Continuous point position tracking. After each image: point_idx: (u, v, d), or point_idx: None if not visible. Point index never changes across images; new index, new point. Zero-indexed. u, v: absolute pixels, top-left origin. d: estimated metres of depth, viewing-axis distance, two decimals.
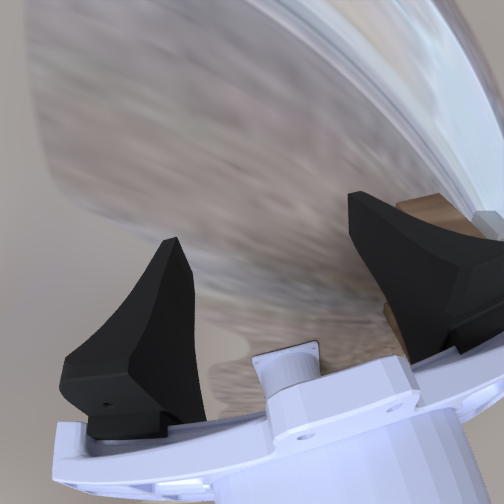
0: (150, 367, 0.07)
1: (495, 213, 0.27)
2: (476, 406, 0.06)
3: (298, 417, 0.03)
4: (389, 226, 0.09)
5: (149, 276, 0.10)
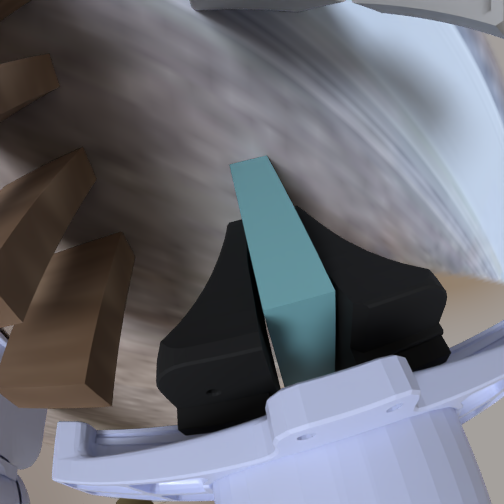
0: (264, 344, 0.07)
1: None
2: (476, 406, 0.06)
3: (298, 417, 0.03)
4: None
5: (230, 255, 0.10)
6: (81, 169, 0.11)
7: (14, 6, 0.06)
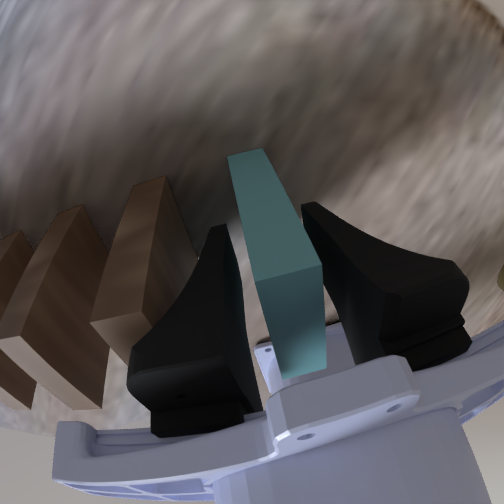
0: (232, 351, 0.07)
1: None
2: (476, 406, 0.06)
3: (298, 417, 0.03)
4: (332, 241, 0.09)
5: (208, 261, 0.10)
6: (61, 220, 0.13)
7: None
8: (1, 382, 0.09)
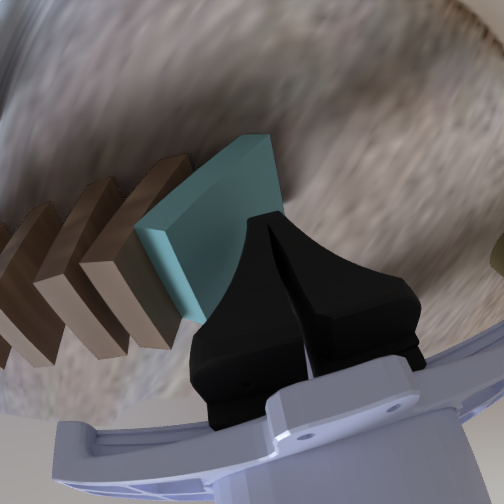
0: None
1: None
2: (476, 406, 0.06)
3: (298, 417, 0.03)
4: (285, 253, 0.09)
5: (254, 249, 0.10)
6: (92, 189, 0.15)
7: (5, 236, 0.16)
8: (29, 335, 0.11)
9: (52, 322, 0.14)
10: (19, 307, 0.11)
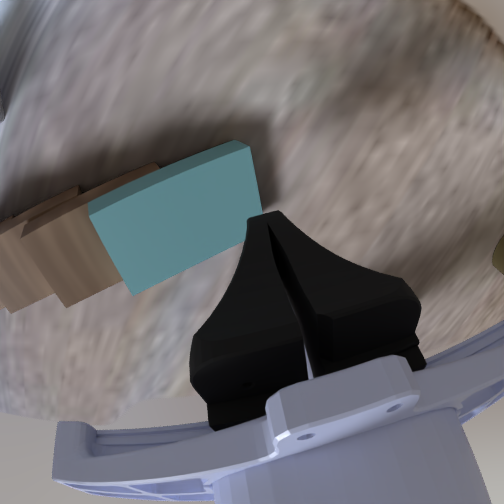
0: None
1: None
2: (476, 406, 0.06)
3: (298, 417, 0.03)
4: (285, 254, 0.09)
5: (254, 249, 0.10)
6: (62, 196, 0.15)
7: None
8: None
9: None
10: None
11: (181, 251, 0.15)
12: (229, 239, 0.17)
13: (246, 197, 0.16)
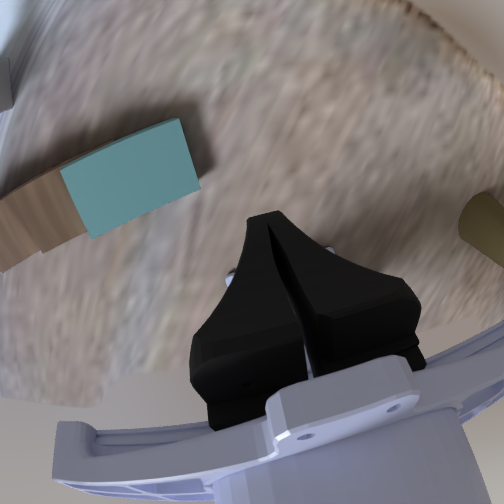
0: None
1: None
2: (476, 406, 0.06)
3: (298, 417, 0.03)
4: (285, 253, 0.09)
5: (254, 249, 0.10)
6: None
7: None
8: None
9: None
10: None
11: (129, 202, 0.19)
12: (168, 194, 0.20)
13: (180, 159, 0.19)
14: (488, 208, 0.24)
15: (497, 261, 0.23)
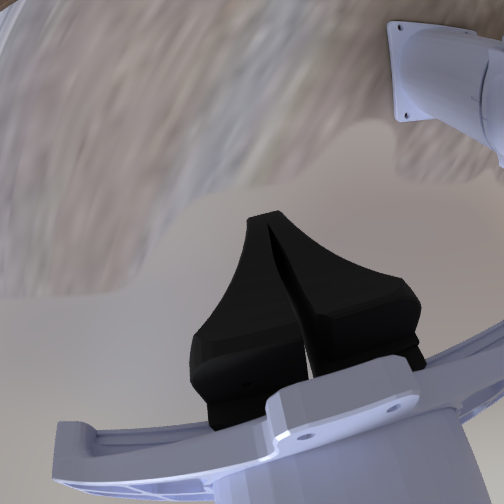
0: None
1: None
2: (476, 406, 0.06)
3: (298, 417, 0.03)
4: (285, 254, 0.09)
5: (254, 249, 0.10)
6: None
7: None
8: None
9: None
10: None
11: None
12: None
13: None
14: None
15: None
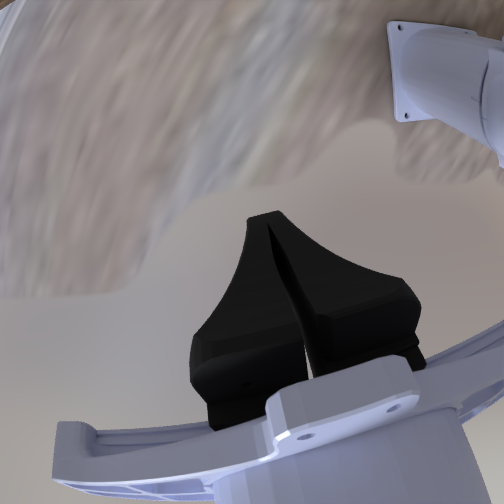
0: None
1: None
2: (476, 406, 0.06)
3: (298, 417, 0.03)
4: (285, 254, 0.09)
5: (254, 249, 0.10)
6: None
7: None
8: None
9: None
10: None
11: None
12: None
13: None
14: None
15: None
